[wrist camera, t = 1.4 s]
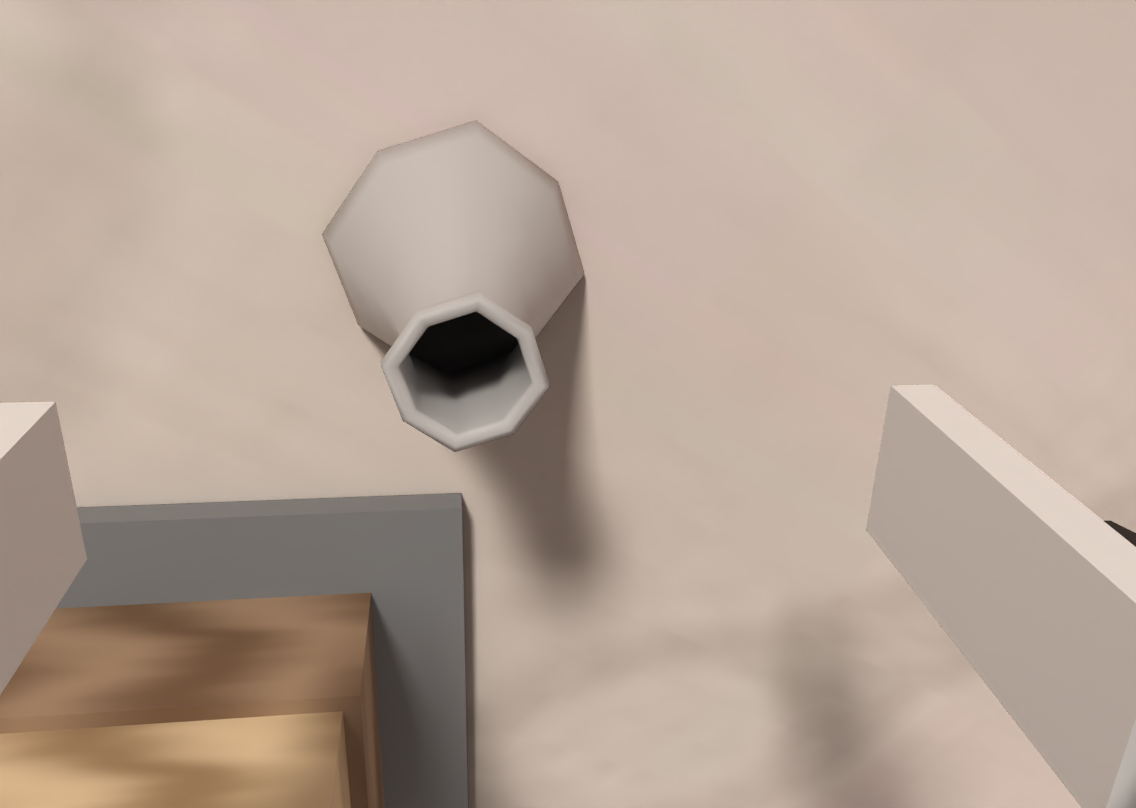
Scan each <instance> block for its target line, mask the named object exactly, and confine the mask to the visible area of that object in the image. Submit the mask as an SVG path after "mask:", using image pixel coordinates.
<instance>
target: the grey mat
mask: <svg viewBox="0 0 1136 808" xmlns="http://www.w3.org/2000/svg"><path fill="white" fill-rule="evenodd" d="M77 511H78V516H79V521H80V526H81V531H82V536H83V541H84V546H85V551H86V556H87V560H86V562H85V563H84V565H83V566H82V568H81V569H80V571H79V573H78V574H77V576H76V577H75V579H74V580H73V582H72V584H71V585H70V587H69V588H68V590H67V591H66V593H65V595H64V596H63V598H62V599H61V601H60V602H59V604H58V606H57V607H56V608H76V607H96V606H116V605H136V604H155V603H175V602H195V601H215V600H235V599H254V598H274V597H294V596H314V595H334V594H354V593H371V601H372V616H373V631H374V647H375V662H376V677H377V693H378V708H379V724H380V739H381V754H382V770H383V785H384V800H385V808H468V783H467V733H466V682H465V631H464V580H463V530H462V498H461V493H450V494H424V495H398V496H371V497H345V498H318V499H292V500H265V501H239V502H213V503H186V504H160V505H133V506H107V507H80V508H77Z"/></svg>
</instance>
